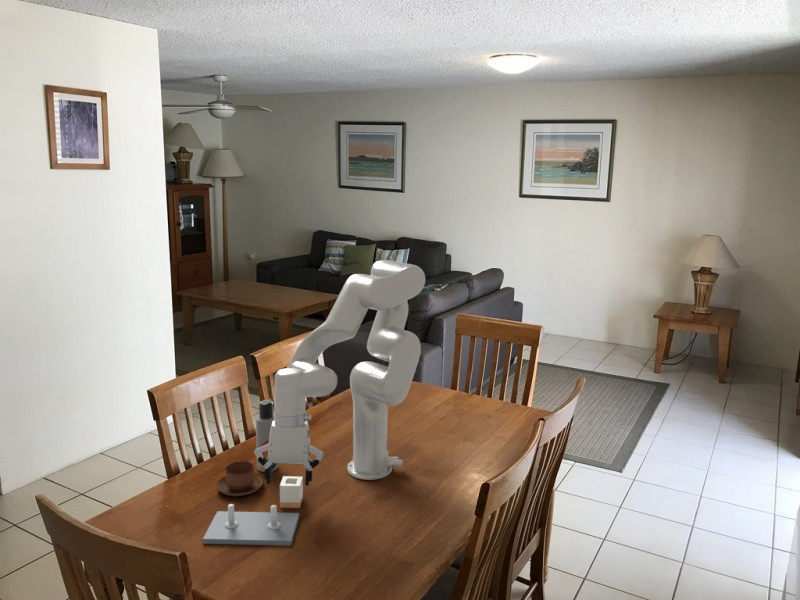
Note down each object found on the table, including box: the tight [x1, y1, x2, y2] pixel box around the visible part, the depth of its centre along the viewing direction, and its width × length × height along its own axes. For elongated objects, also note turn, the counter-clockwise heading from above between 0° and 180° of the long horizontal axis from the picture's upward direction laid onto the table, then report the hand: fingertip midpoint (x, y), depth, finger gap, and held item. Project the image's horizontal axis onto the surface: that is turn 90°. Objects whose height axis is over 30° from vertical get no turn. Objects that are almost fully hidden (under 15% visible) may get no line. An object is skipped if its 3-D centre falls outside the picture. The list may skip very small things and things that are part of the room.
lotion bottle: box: [255, 399, 278, 473], centre depth 185 cm, size 6×6×20 cm
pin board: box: [202, 503, 300, 546], centre depth 155 cm, size 20×12×6 cm, turn 90°
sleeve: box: [279, 475, 304, 509], centre depth 168 cm, size 5×5×6 cm
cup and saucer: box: [216, 460, 264, 497], centre depth 174 cm, size 12×12×6 cm
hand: (288, 482), depth 166 cm, fingers open, 9 cm apart
